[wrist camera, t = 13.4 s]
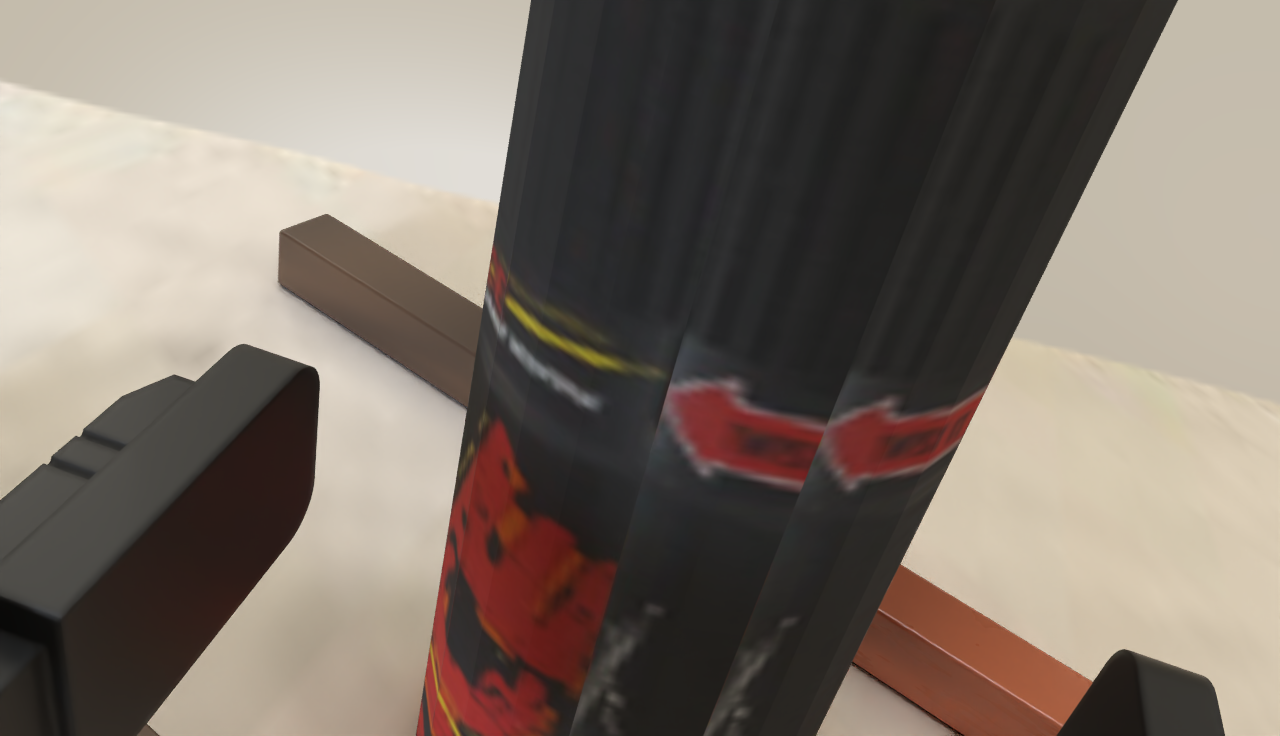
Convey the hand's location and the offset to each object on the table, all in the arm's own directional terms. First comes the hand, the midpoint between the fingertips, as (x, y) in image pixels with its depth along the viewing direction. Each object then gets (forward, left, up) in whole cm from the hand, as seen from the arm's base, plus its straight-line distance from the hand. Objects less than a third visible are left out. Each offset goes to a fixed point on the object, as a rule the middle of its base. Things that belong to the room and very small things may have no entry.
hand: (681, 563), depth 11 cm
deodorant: (-2, +3, -8) cm, 9 cm away
